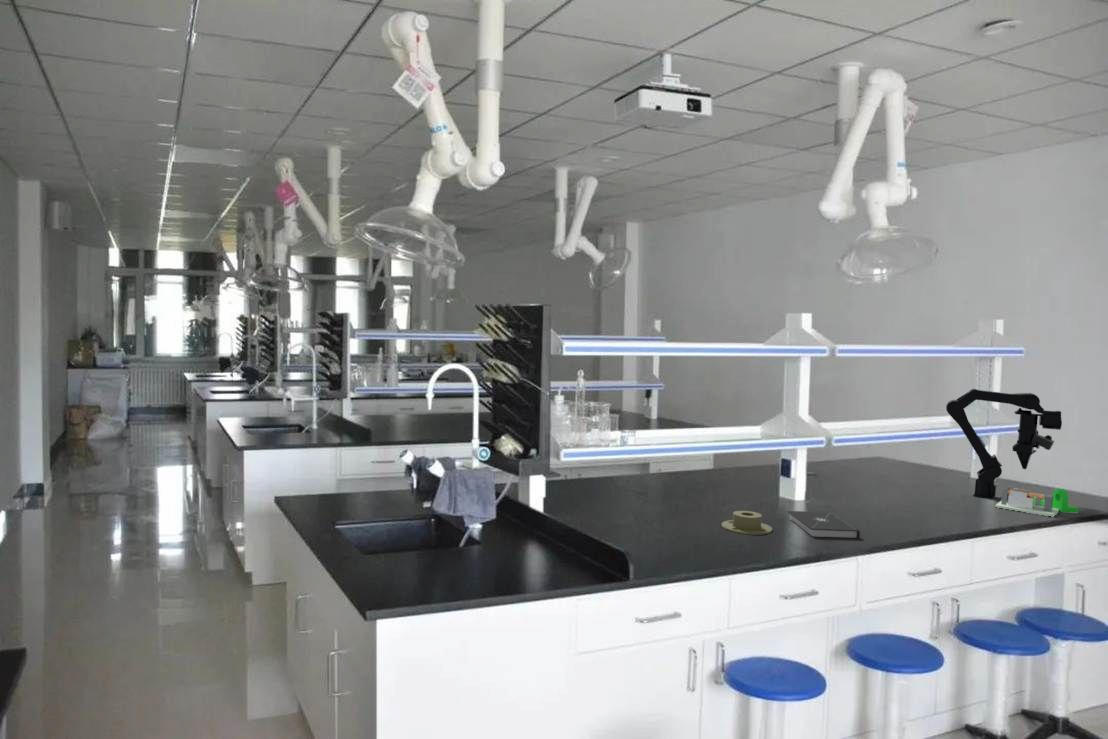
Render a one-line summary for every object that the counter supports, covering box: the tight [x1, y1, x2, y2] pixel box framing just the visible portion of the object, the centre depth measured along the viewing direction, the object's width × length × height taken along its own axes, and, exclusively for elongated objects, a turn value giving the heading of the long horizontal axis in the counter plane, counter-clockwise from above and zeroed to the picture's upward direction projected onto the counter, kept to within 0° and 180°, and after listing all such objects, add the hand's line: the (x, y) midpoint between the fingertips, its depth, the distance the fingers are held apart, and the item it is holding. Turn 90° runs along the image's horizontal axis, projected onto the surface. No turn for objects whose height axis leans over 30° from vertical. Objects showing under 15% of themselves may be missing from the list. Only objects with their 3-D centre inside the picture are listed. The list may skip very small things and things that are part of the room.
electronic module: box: [1000, 486, 1053, 512], centre depth 291 cm, size 15×7×6 cm, turn 52°
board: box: [995, 500, 1060, 518], centre depth 291 cm, size 18×12×1 cm, turn 52°
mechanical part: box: [1040, 488, 1080, 513], centre depth 294 cm, size 12×6×8 cm, turn 2°
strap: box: [1008, 489, 1046, 499], centre depth 291 cm, size 13×3×1 cm, turn 52°
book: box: [786, 510, 861, 539], centre depth 253 cm, size 22×15×3 cm
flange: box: [721, 510, 773, 536], centre depth 250 cm, size 5×15×15 cm
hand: (1024, 468), depth 304 cm, fingers closed
